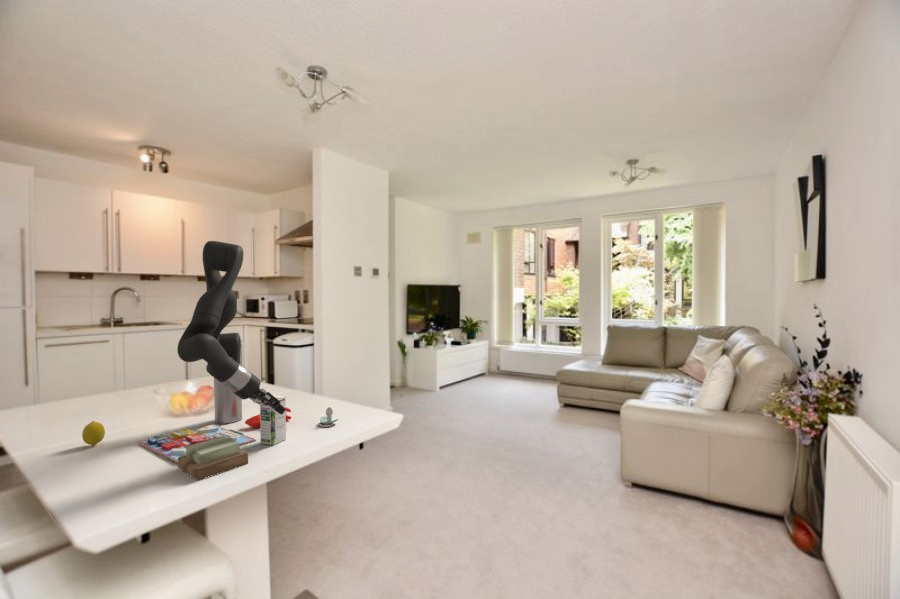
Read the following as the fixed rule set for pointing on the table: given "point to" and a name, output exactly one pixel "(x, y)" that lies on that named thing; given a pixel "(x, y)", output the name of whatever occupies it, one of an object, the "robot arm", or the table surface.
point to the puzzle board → (190, 440)
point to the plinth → (211, 466)
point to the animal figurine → (255, 420)
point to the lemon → (93, 433)
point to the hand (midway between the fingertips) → (277, 409)
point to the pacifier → (329, 419)
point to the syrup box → (272, 423)
